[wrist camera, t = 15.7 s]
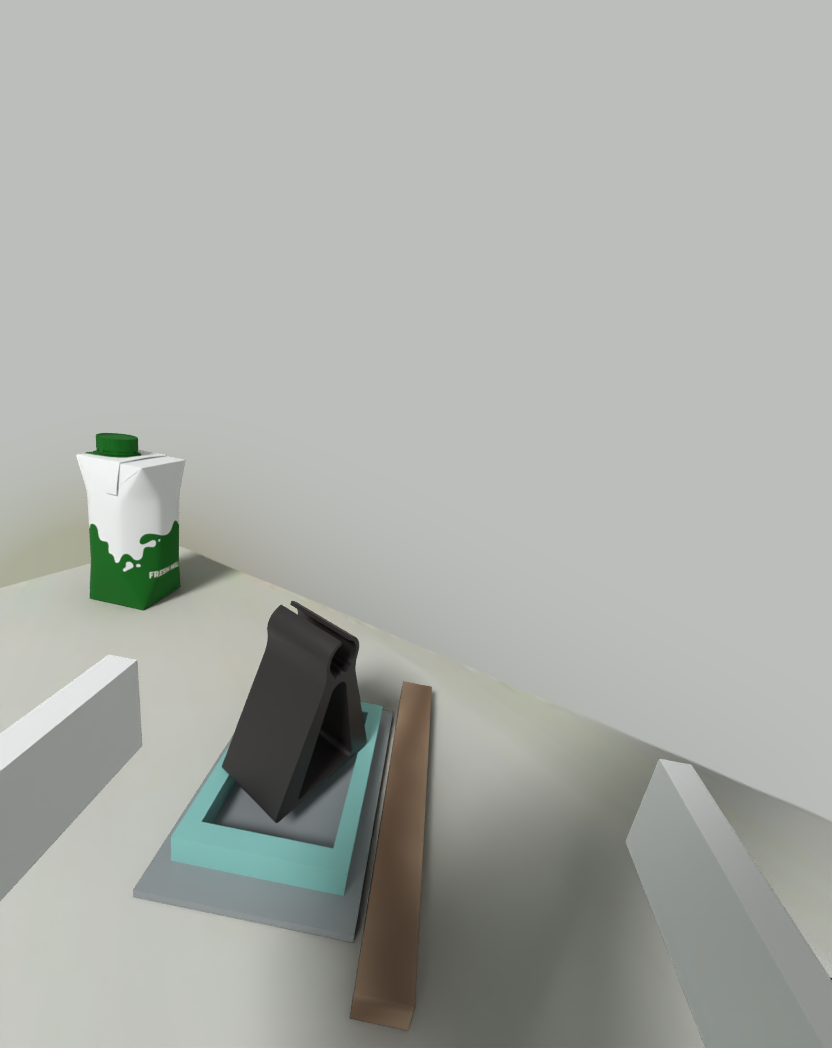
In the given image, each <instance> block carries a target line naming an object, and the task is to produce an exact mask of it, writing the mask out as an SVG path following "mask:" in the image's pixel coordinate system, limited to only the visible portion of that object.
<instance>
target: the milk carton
mask: <svg viewBox="0 0 832 1048" xmlns="http://www.w3.org/2000/svg"><path fill="white" fill-rule="evenodd" d="M96 447H97V450H96V451H93V452H86V453H85V454H77V455H76V457H77V460H78V463H79V467H80V470H81V473H82V476H83V480H84V483H85V486H86V490H87V498H88V513H89V531H90V550H91V575H90V598H91V599H95V600H100V601H104V602H109V603H113V604H118V605H122V606H127V607H132V608H136V609H141V610H144V609H146V608H147V607H149V606H151V605H152V604H154V603H155V602H157V601H159V600H160V599H162V598H163V597H165V596H167V595H168V594H170V593H171V592H173V591H174V590H176V589H178V588H179V587H180V572H179V494H180V487H181V481H182V476H183V470H184V465H185V460H183V459H178V458H173V457H168V456H167V455H164V454H156V453H151V452H145V451H141V450H138V438H137V437H135V436H131V435H126V434H116V433H100V434H97V435H96Z"/></svg>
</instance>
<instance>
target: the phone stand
mask: <svg viewBox="0 0 832 1048" xmlns="http://www.w3.org/2000/svg"><path fill="white" fill-rule="evenodd" d="M290 605H292V606H294V607H295V608H297V610H298V615H297V614H296V613H294V612H292V611H291V610H289V609H287V608H286V607H284V606H282V605H280V606H279V607H278V608H277V609H276V610H275V611H274V612H273V614H272V615H271V617H270V619H269V622H268V627H267V631H268V641H267V646H266V650H265V653H264V655H263V658H262V661H261V663H260V666H259V669H258V671H257V674H256V677H255V679H254V682H253V685H252V687H251V690H250V693H249V695H248V698H247V700H246V703H245V706H244V708H243V711H242V714H241V716H240V719H239V722H238V724H237V727H236V730H235V732H234V735H233V738H232V740H231V743H230V746H229V748H228V751H227V754H226V756H225V759H224V761H223V764H222V768H223V769H224V770H225V771H226V772H227V773H228V774H229V775H230V776H231V777H232V778H233V779H234V781H235V782H236V783H237V784H238V785H239V786H240V787H241V788H242V789H243V790H244V791H245V792H246V793H247V794H248V795H249V796H250V797H251V798H252V799H253V800H254V801H255V802H256V803H257V804H258V805H259V806H260V807H261V808H262V809H263V811H264V812H265V813H266V814H267V815H268V816H269V817H270V818H271V819H272V820H273V821H274V822H275V823H278V822H280V821H281V820H282V819H283V818H284V817H285V816H286V815H287V814H289V813H290V812H291V811H292V810H293V809H294V808H295V807H297V806H298V805H299V804H300V803H301V802H302V801H303V800H304V799H306V798H307V797H308V796H309V795H310V794H311V793H312V792H314V791H315V790H316V789H317V788H318V787H319V786H320V785H322V784H323V783H324V781H325V779H326V778H327V779H328V778H329V777H331V776H332V775H333V774H334V773H335V772H336V771H337V770H339V769H340V768H341V767H342V766H343V765H344V764H345V763H346V762H348V761H349V760H350V759H351V758H352V757H353V756H354V755H356V754H357V753H358V752H359V751H360V750H361V749H362V748H364V746H365V745H366V743H367V738H366V732H365V726H364V720H363V714H362V708H361V702H360V696H359V690H358V684H357V678H356V672H355V665H356V658H357V654H358V650H359V641H358V639H357V638H356V637H354V636H353V635H351V634H349V633H348V632H346V631H344V630H343V629H341V628H339V627H338V626H336V625H334V624H333V623H331V622H329V621H327V620H326V619H324V618H322V617H321V616H319V615H317V614H316V613H314V612H312V611H311V610H309V609H307V608H305V607H304V606H302V605H300V604H299V603H297V602H295V601H291V604H290Z"/></svg>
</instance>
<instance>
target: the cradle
mask: <svg viewBox="0 0 832 1048" xmlns="http://www.w3.org/2000/svg"><path fill="white" fill-rule="evenodd" d="M360 702H361V701H360ZM361 708H362V714H363V720H364V726H365V732H366V738H367V743H366V745H365V746H364V748H362V749H361V750H360V751H359V752H358V753H357V754H356V755H354V756H353V757H352V758H351V759H350V760H349V761H348V762H346V763H345V764H344V765H343V766H342V767H341V768H340V769H339V770H337V771H336V772H335V773H334V774H333V775H332V776H331V777H329V778H328V779H327V778H326V779H325V781H324V783H323V784H322V785H320V786H319V787H318V788H317V789H316V790H315V791H314V792H312V793H311V794H310V795H309V796H308V797H307V798H306V799H304V800H303V801H302V802H301V803H300V804H299V805H298V806H297V807H295V808H294V809H293V810H292V811H291V812H290V813H289V814H287V815H286V816H285V817H284V818H283V819H282V820H281V821H280V822H278V823H275V822H274V821H273V820H272V819H271V818H270V817H269V816H268V815H267V814H266V813H265V812H264V811H263V809H262V808H261V807H260V806H259V805H258V804H257V803H256V802H255V801H254V800H253V799H252V798H251V797H250V796H249V795H248V794H247V793H246V792H245V791H244V790H243V789H242V788H241V787H240V786H239V785H238V784H237V783H236V782H235V781H234V779H233V778H232V777H231V776H230V775H229V774H228V773H227V772H226V771H225V770H224V769H223V768H222V764H223V761H224V759H225V756H226V754H227V751H228V748H229V746H230V743H231V740H232V738H233V736H232V738H231V739H230V741H229V742H228V744H227V745H226V747H225V748H224V750H223V752H222V753H221V755H220V756H219V758H218V759H217V761H216V762H215V764H214V765H213V767H212V769H211V770H210V772H209V773H208V775H207V776H206V778H205V779H204V781H203V783H202V784H201V786H200V787H199V789H198V790H197V792H196V793H195V795H194V796H193V798H192V800H191V801H190V803H189V804H188V806H187V807H186V809H185V810H184V812H183V813H182V815H181V817H180V818H179V820H178V821H177V823H176V824H175V826H174V827H173V829H172V831H171V832H170V834H169V835H168V837H167V838H166V840H165V841H164V843H163V844H162V846H161V848H160V849H159V851H158V852H157V854H156V855H155V857H154V858H153V860H152V861H151V863H150V865H149V866H148V868H147V869H146V871H145V872H144V874H143V875H142V877H141V879H140V880H139V882H138V883H137V885H136V886H135V888H134V889H133V897H136V898H141V899H146V900H150V901H155V902H160V903H165V904H170V905H175V906H179V907H184V908H189V909H194V910H199V911H203V912H208V913H213V914H218V915H223V916H228V917H232V918H237V919H242V920H247V921H252V922H256V923H261V924H266V925H271V926H276V927H281V928H285V929H290V930H295V931H300V932H305V933H309V934H314V935H319V936H324V937H329V938H334V939H338V940H343V941H348V942H353V939H354V934H355V928H356V923H357V917H358V911H359V905H360V900H361V894H362V888H363V882H364V877H365V871H366V865H367V859H368V854H369V848H370V842H371V836H372V831H373V825H374V819H375V813H376V808H377V802H378V796H379V790H380V785H381V779H382V773H383V767H384V762H385V756H386V750H387V744H388V739H389V733H390V727H391V721H392V716H393V712H392V711H387V710H382V709H383V706H382V705H377V704H371V703H366V702H361Z"/></svg>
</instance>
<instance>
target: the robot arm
mask: <svg viewBox="0 0 832 1048" xmlns="http://www.w3.org/2000/svg"><path fill="white" fill-rule="evenodd" d="M141 746H142V732H141V715H140V698H139V681H138V663H137V660H135V659H129V658H124V657H119V656H114V655H107V656H106V657H105V658H103V659H102V660H100V661H99V662H98V663H96V664H95V665H94V666H92V667H91V668H89V669H88V670H87V671H85V672H84V673H83V674H81V675H80V676H79V677H77V678H76V679H74V680H73V681H72V682H70V683H69V684H68V685H66V686H65V687H63V688H62V689H61V690H59V691H58V692H57V693H55V694H54V695H52V696H51V697H50V698H48V699H47V700H46V701H44V702H43V703H41V704H40V705H39V706H37V707H36V708H35V709H33V710H32V711H30V712H29V713H28V714H26V715H25V716H24V717H22V718H21V719H19V720H18V721H17V722H15V723H14V724H13V725H11V726H10V727H8V728H7V729H6V730H4V731H3V732H2V733H0V901H1V900H2V899H3V898H4V897H5V896H6V895H7V893H8V892H9V891H10V890H11V889H12V888H13V887H14V886H15V885H16V884H17V883H18V881H19V880H20V879H21V878H22V877H23V876H24V875H25V874H26V873H27V872H28V870H29V869H30V868H31V867H32V866H33V865H34V864H35V863H36V862H37V861H38V859H39V858H40V857H41V856H42V855H43V854H44V853H45V852H46V851H47V850H48V848H49V847H50V846H51V845H52V844H53V843H54V842H55V841H56V840H57V839H58V838H59V836H60V835H61V834H62V833H63V832H64V831H65V830H66V829H67V828H68V827H69V825H70V824H71V823H72V822H73V821H74V820H75V819H76V818H77V817H78V816H79V814H80V813H81V812H82V811H83V810H84V809H85V808H86V807H87V806H88V805H89V804H90V802H91V801H92V800H93V799H94V798H95V797H96V796H97V795H98V794H99V793H100V791H101V790H102V789H103V788H104V787H105V786H106V785H107V784H108V783H109V782H110V780H111V779H112V778H113V777H114V776H115V775H116V774H117V773H118V772H119V771H120V769H121V768H122V767H123V766H124V765H125V764H126V763H127V762H128V761H129V760H130V759H131V757H132V756H133V755H134V754H135V753H136V752H137V751H138V750H139V749H140V748H141ZM625 842H626V844H627V847H628V849H629V852H630V855H631V857H632V860H633V862H634V865H635V868H636V870H637V873H638V875H639V878H640V880H641V883H642V886H643V888H644V891H645V893H646V896H647V899H648V901H649V904H650V906H651V909H652V911H653V914H654V917H655V919H656V922H657V924H658V927H659V930H660V932H661V935H662V937H663V940H664V942H665V945H666V948H667V950H668V953H669V955H670V958H671V961H672V963H673V966H674V968H675V971H676V973H677V976H678V979H679V981H680V984H681V986H682V989H683V992H684V994H685V997H686V999H687V1002H688V1004H689V1007H690V1010H691V1012H692V1015H693V1017H694V1020H695V1023H696V1025H697V1028H698V1030H699V1033H700V1035H701V1038H702V1041H703V1043H704V1046H705V1048H832V978H830V977H829V975H828V974H827V972H826V971H825V969H824V968H823V966H822V965H821V963H820V961H819V960H818V958H817V957H816V955H815V954H814V952H813V951H812V949H811V948H810V946H809V945H808V943H807V942H806V940H805V938H804V937H803V935H802V934H801V932H800V931H799V929H798V928H797V926H796V925H795V923H794V922H793V920H792V918H791V917H790V915H789V914H788V912H787V911H786V909H785V908H784V906H783V905H782V903H781V902H780V900H779V899H778V897H777V895H776V894H775V892H774V891H773V889H772V888H771V886H770V885H769V883H768V882H767V880H766V879H765V877H764V875H763V874H762V872H761V871H760V869H759V868H758V866H757V865H756V863H755V862H754V860H753V859H752V857H751V856H750V854H749V852H748V851H747V849H746V848H745V846H744V845H743V843H742V842H741V840H740V839H739V837H738V836H737V834H736V832H735V831H734V829H733V828H732V826H731V825H730V823H729V822H728V820H727V819H726V817H725V816H724V814H723V813H722V811H721V809H720V808H719V806H718V805H717V803H716V802H715V800H714V799H713V797H712V796H711V794H710V793H709V791H708V789H707V788H706V786H705V785H704V783H703V782H702V780H701V779H700V777H699V776H698V774H697V773H696V771H695V770H694V768H693V766H692V765H690V764H685V763H680V762H674V761H669V760H664V759H659V760H658V762H657V765H656V767H655V770H654V772H653V775H652V777H651V780H650V782H649V785H648V787H647V790H646V792H645V794H644V797H643V799H642V802H641V804H640V807H639V809H638V812H637V814H636V817H635V819H634V822H633V824H632V827H631V829H630V831H629V834H628V836H627V839H626V841H625Z"/></svg>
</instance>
